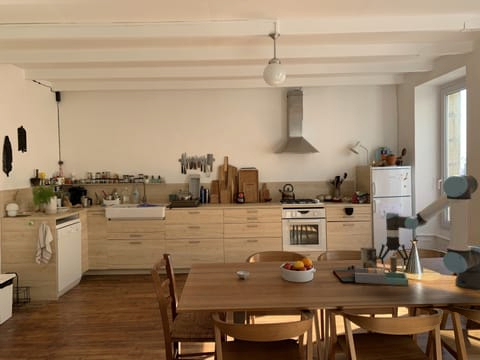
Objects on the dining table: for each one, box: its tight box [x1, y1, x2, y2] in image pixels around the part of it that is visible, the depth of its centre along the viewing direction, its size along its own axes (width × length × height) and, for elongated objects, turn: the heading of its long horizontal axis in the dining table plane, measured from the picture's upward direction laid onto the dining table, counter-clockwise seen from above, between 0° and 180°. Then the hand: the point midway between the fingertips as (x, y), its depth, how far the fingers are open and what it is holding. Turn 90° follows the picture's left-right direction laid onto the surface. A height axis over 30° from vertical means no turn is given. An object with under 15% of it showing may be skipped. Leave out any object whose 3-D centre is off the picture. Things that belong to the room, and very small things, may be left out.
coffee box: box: [360, 246, 378, 269], centre depth 245 cm, size 9×6×16 cm
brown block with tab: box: [389, 255, 398, 273], centre depth 236 cm, size 4×8×12 cm, turn 162°
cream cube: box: [377, 267, 384, 274], centre depth 225 cm, size 4×4×4 cm
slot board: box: [354, 267, 388, 285], centre depth 227 cm, size 18×14×6 cm
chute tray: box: [385, 271, 409, 286], centre depth 222 cm, size 12×14×4 cm
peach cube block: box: [368, 268, 375, 274], centre depth 226 cm, size 4×4×4 cm
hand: (393, 269), depth 236 cm, fingers open, 11 cm apart
